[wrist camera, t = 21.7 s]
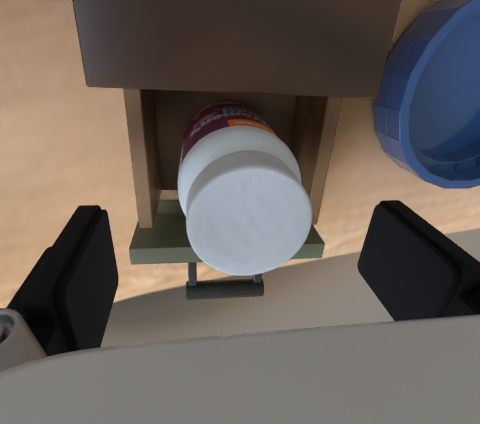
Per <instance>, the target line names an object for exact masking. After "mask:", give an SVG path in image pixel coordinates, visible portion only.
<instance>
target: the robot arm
mask: <svg viewBox="0 0 480 424" xmlns="http://www.w3.org/2000/svg"><path fill="white" fill-rule="evenodd" d="M358 270H359V272H360V274H361V275H362V277H363V278H364V279H365V281H366V282H367V284H368V285H369V286H370V288H371V289H372V291H373V292H374V293H375V295H376V296H377V297H378V299H379V300H380V301H381V303H382V304H383V306H384V307H385V308H386V310H387V311H388V312H389V314H390V315H391V317H392V318H393V319H394V321H391V322H378V323H364V324H352V325H340V326H328V327H315V328H304V329H291V330H279V331H268V332H257V333H245V334H234V335H222V336H212V337H200V338H188V339H177V340H166V341H155V342H144V343H133V344H126V345H117V346H109V347H102V348H100V346H101V343H102V339H103V336H104V332H105V329H106V325H107V321H108V318H109V315H110V311H111V308H112V304H113V301H114V297H115V294H116V290H117V287H118V271H117V265H116V259H115V253H114V248H113V242H112V236H111V230H110V225H109V219H108V213H107V211H106V210H101V208H100V206H99V205H90V206H79V207H78V208H77V209H76V211H75V212H74V214H73V215H72V217H71V218H70V220H69V222H68V223H67V225H66V226H65V228H64V229H63V231H62V232H61V234H60V235H59V237H58V238H57V240H56V241H55V243H54V244H53V246H52V247H49V248H47V249H46V250H45V251H44V253H43V254H42V256H41V257H40V259H39V260H38V262H37V263H36V265H35V266H34V268H33V269H32V271H31V272H30V274H29V275H28V277H27V278H26V280H25V281H24V282H23V284H22V285H21V287H20V288H19V290H18V291H17V293H16V294H15V296H14V297H13V299H12V300H11V302H10V303H9V305H8V306H7V308H0V424H480V262H479V261H477V260H476V259H475V258H473V257H472V256H471V255H469V254H468V253H467V252H466V251H464V250H463V249H462V248H460V247H459V246H458V245H457V244H455V243H454V242H453V241H451V240H450V239H449V238H447V237H446V236H445V235H444V234H442V233H441V232H440V231H438V230H437V229H436V228H434V227H433V226H432V225H431V224H429V223H428V222H427V221H425V220H424V219H423V218H421V217H420V216H419V215H418V214H416V213H415V212H414V211H412V210H411V209H410V208H408V207H407V206H406V205H405V204H403V203H402V202H401V201H399V200H391V201H381V202H380V203H379V205H376V207H375V208H374V212H373V215H372V218H371V221H370V225H369V228H368V231H367V235H366V238H365V241H364V244H363V248H362V251H361V254H360V258H359V261H358Z"/></svg>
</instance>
